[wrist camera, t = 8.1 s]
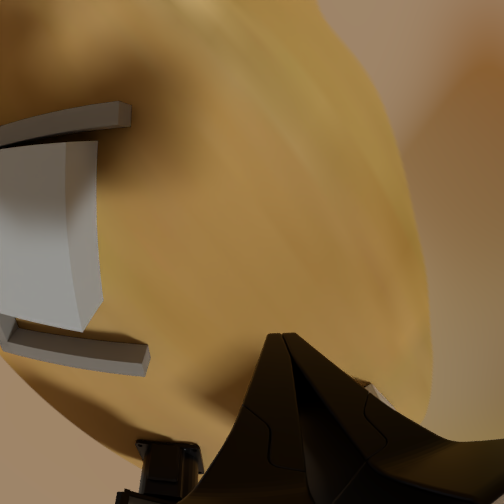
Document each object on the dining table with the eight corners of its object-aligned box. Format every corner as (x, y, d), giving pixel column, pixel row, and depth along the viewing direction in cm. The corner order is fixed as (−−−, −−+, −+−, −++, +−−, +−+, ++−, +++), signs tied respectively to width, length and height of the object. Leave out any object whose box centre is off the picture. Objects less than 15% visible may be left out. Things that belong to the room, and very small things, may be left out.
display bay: (150, 357, 19) (145, 376, 17) (13, 337, 18) (3, 351, 16) (131, 105, 13) (119, 100, 11) (-24, 139, 12) (-42, 141, 10)
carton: (105, 297, 18) (82, 332, 14) (9, 282, 16) (-20, 307, 13) (100, 140, 14) (66, 142, 10) (-4, 149, 13) (-42, 156, 9)
